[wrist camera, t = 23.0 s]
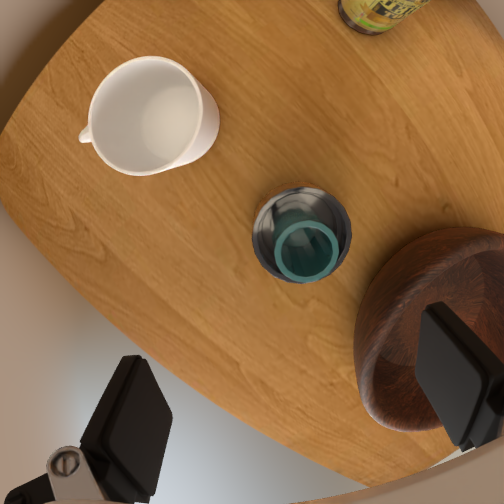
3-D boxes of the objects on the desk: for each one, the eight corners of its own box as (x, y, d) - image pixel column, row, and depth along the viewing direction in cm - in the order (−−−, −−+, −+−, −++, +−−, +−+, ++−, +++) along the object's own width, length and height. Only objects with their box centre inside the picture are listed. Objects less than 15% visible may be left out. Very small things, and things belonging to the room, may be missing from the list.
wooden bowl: (387, 179, 31) (436, 195, 21) (521, 245, 33) (568, 272, 23) (307, 369, 39) (319, 429, 29) (445, 387, 41) (472, 430, 31)
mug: (105, 100, 28) (48, 89, 18) (216, 75, 28) (195, 43, 17) (116, 177, 31) (61, 194, 21) (226, 158, 30) (210, 164, 20)
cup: (275, 253, 33) (280, 287, 25) (266, 206, 31) (269, 227, 24) (322, 245, 33) (341, 276, 25) (316, 197, 31) (334, 215, 23)
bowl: (261, 272, 34) (262, 291, 30) (245, 189, 31) (243, 197, 27) (343, 257, 34) (355, 274, 29) (333, 174, 31) (345, 179, 26)
